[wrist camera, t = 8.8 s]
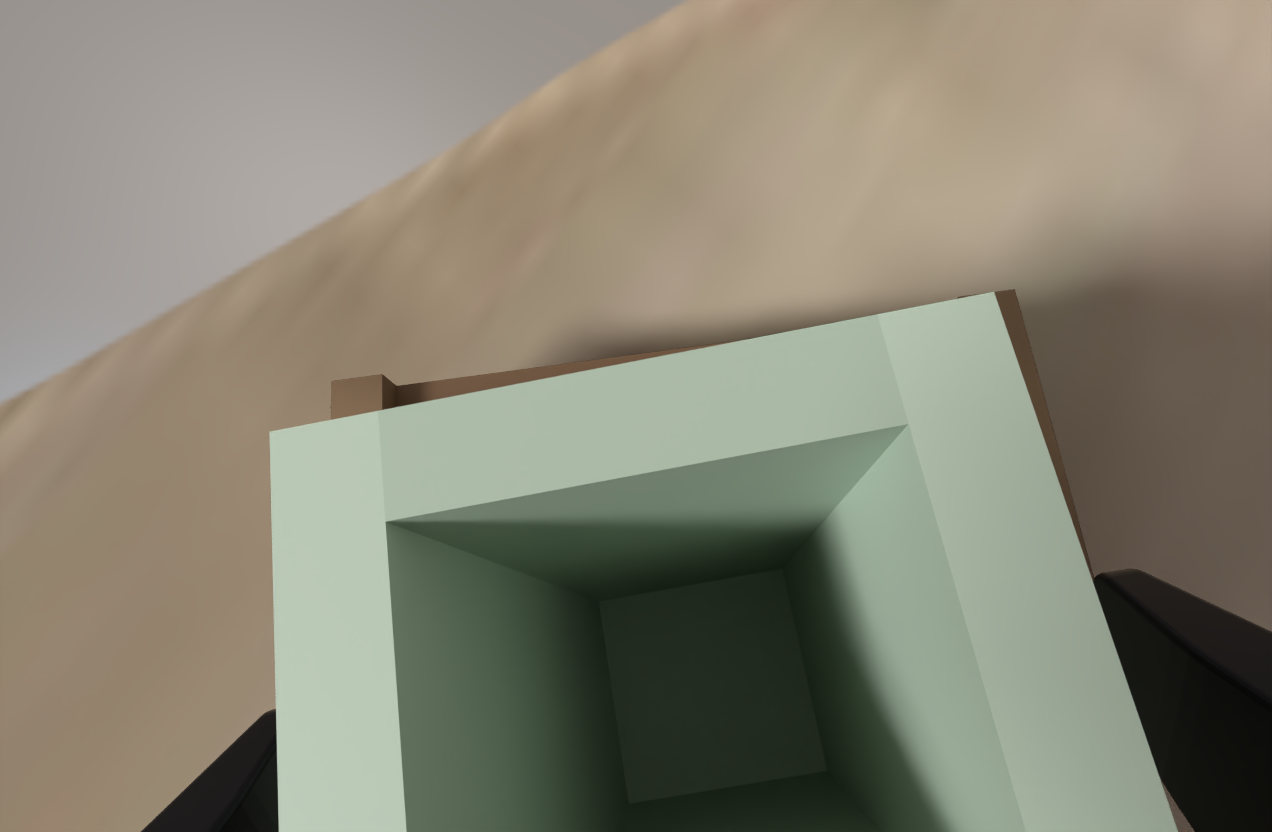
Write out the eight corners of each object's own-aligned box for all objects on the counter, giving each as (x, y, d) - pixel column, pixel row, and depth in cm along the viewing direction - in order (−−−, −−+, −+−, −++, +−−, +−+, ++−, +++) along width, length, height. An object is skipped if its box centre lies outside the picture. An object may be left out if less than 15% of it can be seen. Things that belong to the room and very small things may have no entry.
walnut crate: (1074, 983, 15) (1250, 1149, 10) (441, 1031, 16) (317, 1206, 11) (936, 382, 19) (1014, 289, 14) (428, 447, 20) (331, 381, 15)
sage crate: (876, 804, 16) (1320, 1248, 4) (597, 850, 16) (291, 1382, 4) (809, 525, 17) (994, 292, 6) (559, 570, 18) (270, 432, 6)
